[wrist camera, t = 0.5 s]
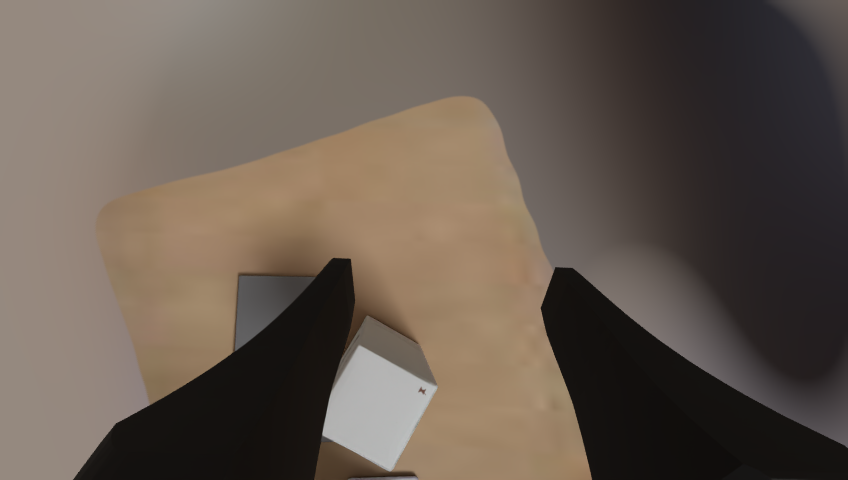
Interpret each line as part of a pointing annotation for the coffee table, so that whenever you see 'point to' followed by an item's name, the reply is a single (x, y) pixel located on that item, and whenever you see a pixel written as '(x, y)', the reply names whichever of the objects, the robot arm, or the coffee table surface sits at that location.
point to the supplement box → (378, 394)
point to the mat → (265, 304)
